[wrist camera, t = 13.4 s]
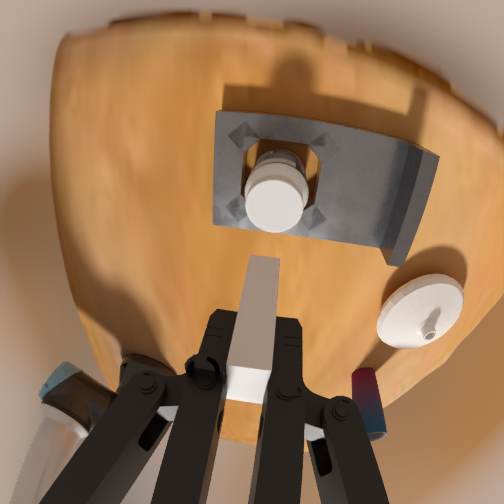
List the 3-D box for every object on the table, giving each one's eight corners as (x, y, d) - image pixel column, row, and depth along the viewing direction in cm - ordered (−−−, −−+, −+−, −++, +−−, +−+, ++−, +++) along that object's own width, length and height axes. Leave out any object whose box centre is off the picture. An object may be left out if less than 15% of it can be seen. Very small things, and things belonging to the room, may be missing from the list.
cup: (358, 363, 47) (364, 432, 35) (384, 367, 47) (394, 431, 35) (341, 379, 51) (344, 443, 39) (367, 382, 51) (373, 442, 39)
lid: (461, 253, 31) (483, 282, 25) (450, 321, 39) (462, 350, 33) (369, 278, 36) (380, 314, 30) (374, 343, 43) (380, 375, 38)
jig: (218, 215, 33) (204, 240, 29) (221, 109, 26) (205, 114, 21) (388, 239, 32) (402, 267, 27) (415, 143, 25) (439, 156, 20)
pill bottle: (304, 195, 31) (309, 239, 22) (255, 194, 31) (241, 238, 23) (305, 147, 27) (312, 174, 19) (252, 147, 28) (235, 173, 20)
